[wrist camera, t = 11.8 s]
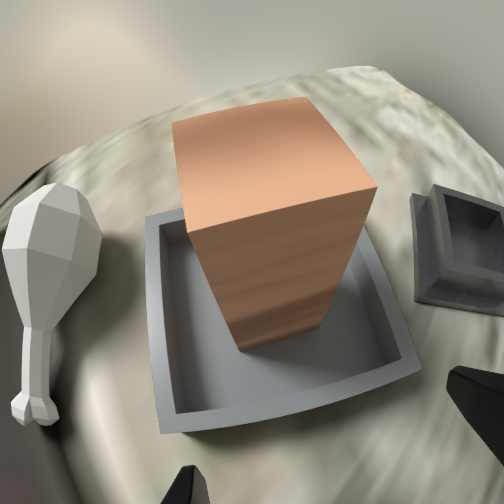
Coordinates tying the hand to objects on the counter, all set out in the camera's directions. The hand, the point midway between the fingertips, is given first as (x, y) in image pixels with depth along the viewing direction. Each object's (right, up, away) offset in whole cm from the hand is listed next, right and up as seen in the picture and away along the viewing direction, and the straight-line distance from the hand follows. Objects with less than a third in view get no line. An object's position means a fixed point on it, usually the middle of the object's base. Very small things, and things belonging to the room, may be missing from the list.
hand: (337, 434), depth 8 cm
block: (-2, +2, +11) cm, 11 cm away
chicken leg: (-18, 0, +12) cm, 21 cm away
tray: (-2, +2, +12) cm, 12 cm away
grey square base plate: (+15, +5, +13) cm, 20 cm away
